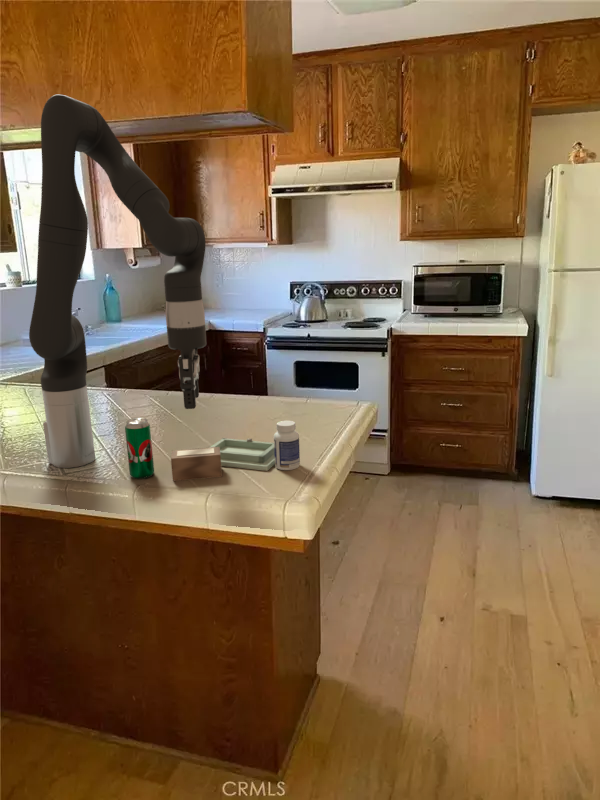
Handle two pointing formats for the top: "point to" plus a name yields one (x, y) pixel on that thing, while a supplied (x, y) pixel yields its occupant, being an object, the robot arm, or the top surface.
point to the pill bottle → (286, 446)
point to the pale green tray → (246, 453)
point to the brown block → (196, 463)
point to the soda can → (139, 448)
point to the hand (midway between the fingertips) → (192, 402)
